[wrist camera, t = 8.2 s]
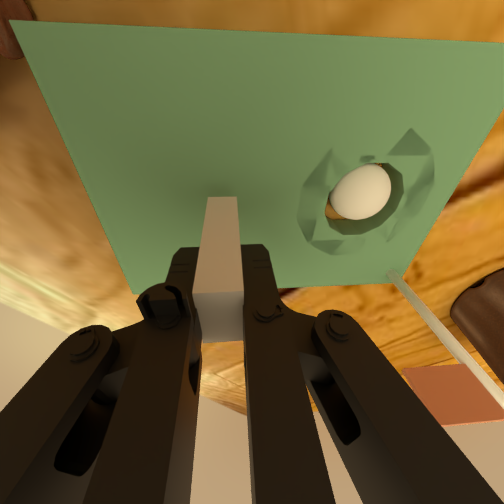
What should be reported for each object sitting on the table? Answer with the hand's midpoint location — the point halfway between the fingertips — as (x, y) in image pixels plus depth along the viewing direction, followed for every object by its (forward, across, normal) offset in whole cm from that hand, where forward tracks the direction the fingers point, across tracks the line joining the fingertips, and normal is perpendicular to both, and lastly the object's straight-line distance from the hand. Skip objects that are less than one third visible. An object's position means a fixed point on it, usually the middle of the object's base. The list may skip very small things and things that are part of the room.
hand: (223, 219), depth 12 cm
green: (+6, +4, -1) cm, 7 cm away
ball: (+4, +10, 0) cm, 10 cm away
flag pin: (+5, +13, -8) cm, 16 cm away
